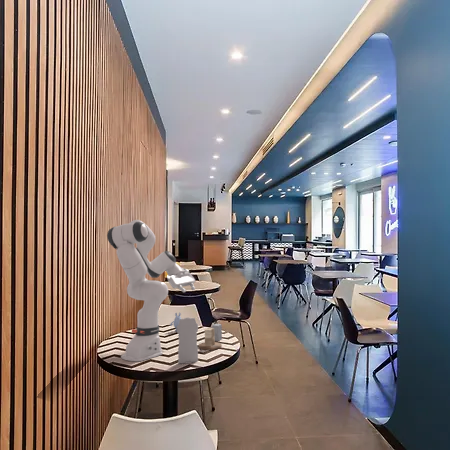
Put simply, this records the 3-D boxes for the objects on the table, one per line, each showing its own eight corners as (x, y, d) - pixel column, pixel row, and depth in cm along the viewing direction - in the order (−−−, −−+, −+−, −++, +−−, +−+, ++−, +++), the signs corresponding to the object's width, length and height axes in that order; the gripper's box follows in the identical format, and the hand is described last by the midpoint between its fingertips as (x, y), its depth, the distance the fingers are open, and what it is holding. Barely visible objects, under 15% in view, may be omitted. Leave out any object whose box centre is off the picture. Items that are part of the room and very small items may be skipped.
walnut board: (213, 351, 208) (213, 349, 208) (193, 348, 215) (193, 346, 215) (225, 345, 219) (225, 343, 219) (206, 342, 226) (206, 340, 226)
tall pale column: (197, 359, 195) (196, 315, 195) (199, 362, 191) (198, 317, 191) (177, 362, 192) (176, 317, 192) (178, 364, 188) (177, 319, 188)
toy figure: (185, 329, 260) (184, 311, 260) (187, 331, 254) (186, 312, 254) (169, 330, 257) (169, 312, 257) (170, 332, 251) (170, 314, 251)
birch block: (210, 346, 214) (210, 330, 214) (204, 345, 216) (204, 329, 216) (214, 344, 218) (214, 328, 218) (208, 343, 220) (208, 327, 220)
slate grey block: (218, 341, 228) (217, 325, 228) (212, 340, 230) (212, 325, 231) (221, 339, 232) (221, 324, 232) (216, 338, 234) (215, 323, 234)
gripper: (168, 272, 230) (181, 289, 225) (188, 269, 247) (201, 285, 242) (162, 279, 232) (176, 296, 227) (183, 275, 250) (196, 291, 244)
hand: (189, 290), depth 235 cm, fingers open, 8 cm apart
